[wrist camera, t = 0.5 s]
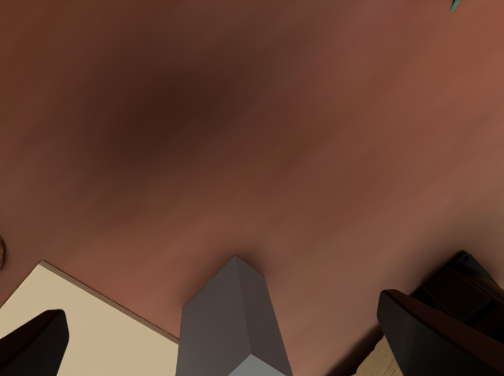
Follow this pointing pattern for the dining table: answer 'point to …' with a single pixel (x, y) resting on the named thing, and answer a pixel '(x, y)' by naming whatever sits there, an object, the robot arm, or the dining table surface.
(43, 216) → the dining table surface
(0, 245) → the cookie
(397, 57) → the dining table surface
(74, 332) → the placemat
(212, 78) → the dining table surface
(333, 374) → the dining table surface
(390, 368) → the clay tablet
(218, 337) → the blue-grey block
